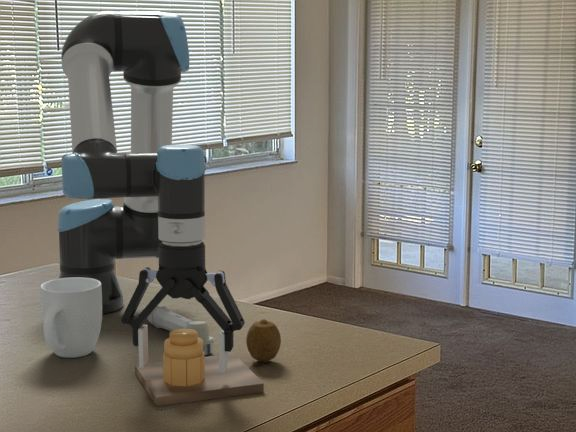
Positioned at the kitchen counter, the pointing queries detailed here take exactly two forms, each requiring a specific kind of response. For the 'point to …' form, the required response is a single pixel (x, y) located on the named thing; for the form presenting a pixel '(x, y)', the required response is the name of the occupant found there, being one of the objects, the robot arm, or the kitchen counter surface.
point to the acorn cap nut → (183, 358)
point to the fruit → (263, 340)
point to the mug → (71, 315)
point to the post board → (213, 385)
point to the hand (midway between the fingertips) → (183, 367)
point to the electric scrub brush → (180, 325)
